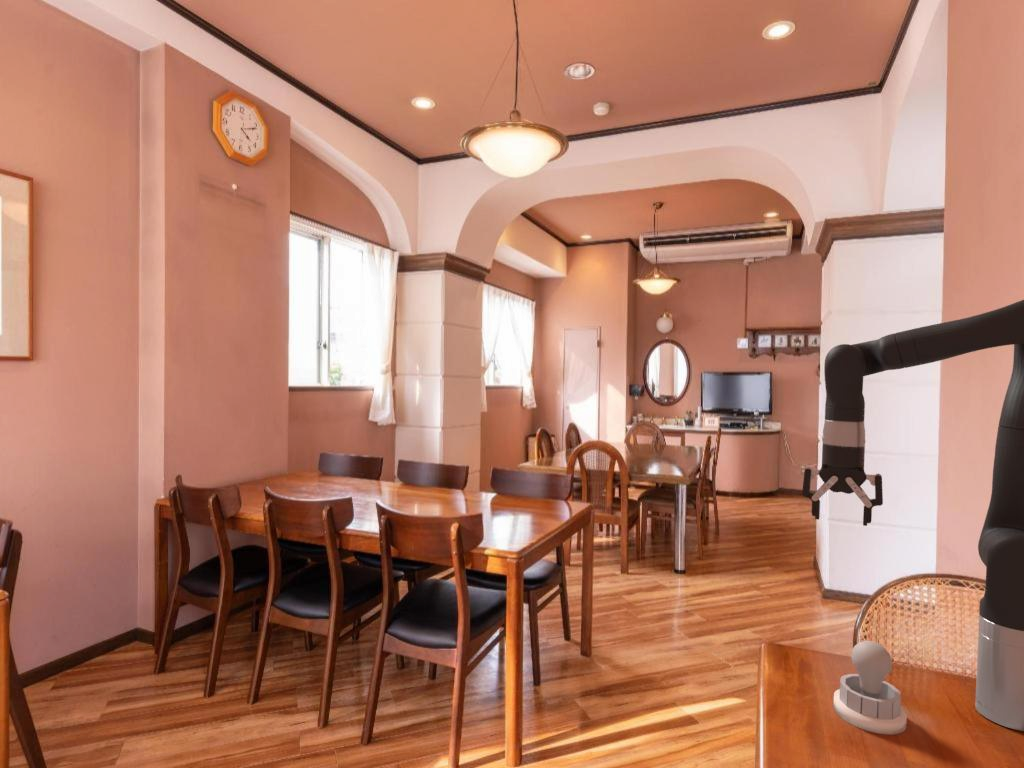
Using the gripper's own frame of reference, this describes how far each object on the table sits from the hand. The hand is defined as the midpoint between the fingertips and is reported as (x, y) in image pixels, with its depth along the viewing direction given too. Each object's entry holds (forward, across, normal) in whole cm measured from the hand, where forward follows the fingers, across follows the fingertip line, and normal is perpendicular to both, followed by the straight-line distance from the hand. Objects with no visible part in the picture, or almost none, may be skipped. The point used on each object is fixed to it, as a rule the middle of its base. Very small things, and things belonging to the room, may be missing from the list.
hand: (840, 521), depth 120 cm
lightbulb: (+28, -6, +16) cm, 33 cm away
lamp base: (+30, -6, +16) cm, 35 cm away
